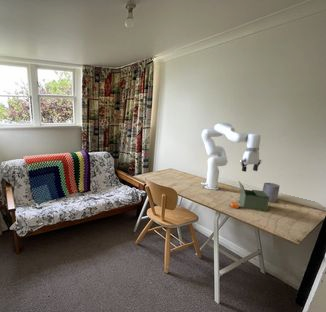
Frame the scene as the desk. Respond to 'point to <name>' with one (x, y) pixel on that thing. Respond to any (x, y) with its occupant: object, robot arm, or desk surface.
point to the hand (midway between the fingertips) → (249, 171)
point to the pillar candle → (271, 191)
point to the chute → (254, 199)
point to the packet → (234, 205)
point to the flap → (242, 187)
